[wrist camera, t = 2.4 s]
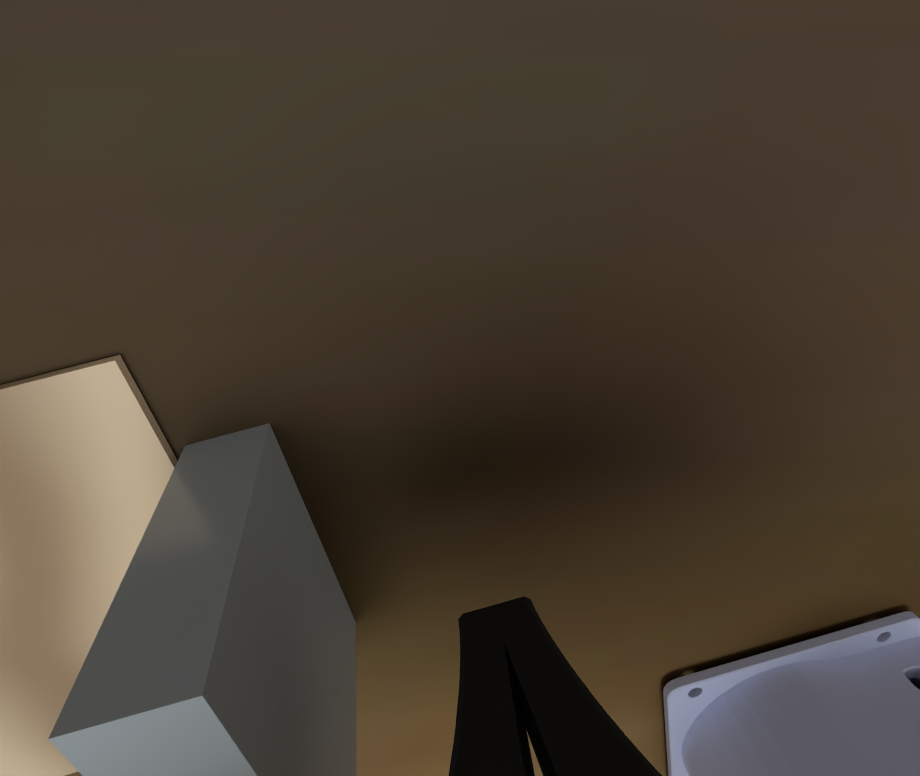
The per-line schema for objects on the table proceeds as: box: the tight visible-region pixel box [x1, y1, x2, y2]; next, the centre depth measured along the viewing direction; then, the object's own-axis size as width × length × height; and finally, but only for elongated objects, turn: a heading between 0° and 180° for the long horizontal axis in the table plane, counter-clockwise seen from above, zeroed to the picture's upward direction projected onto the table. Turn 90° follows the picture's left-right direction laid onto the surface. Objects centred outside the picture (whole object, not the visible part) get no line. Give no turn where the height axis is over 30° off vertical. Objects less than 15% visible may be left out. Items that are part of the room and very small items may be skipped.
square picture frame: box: [48, 423, 356, 776], centre depth 12 cm, size 2×7×7 cm, turn 12°
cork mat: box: [0, 355, 178, 776], centre depth 15 cm, size 9×12×1 cm
